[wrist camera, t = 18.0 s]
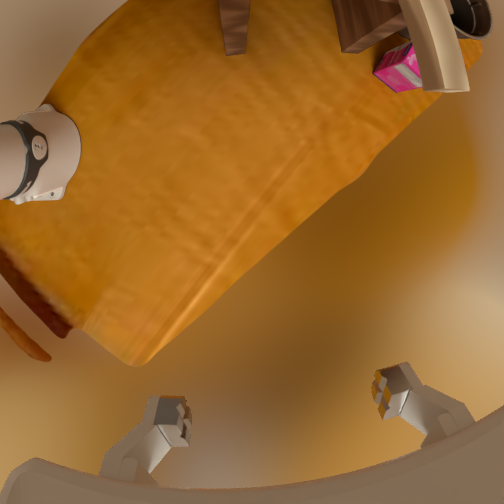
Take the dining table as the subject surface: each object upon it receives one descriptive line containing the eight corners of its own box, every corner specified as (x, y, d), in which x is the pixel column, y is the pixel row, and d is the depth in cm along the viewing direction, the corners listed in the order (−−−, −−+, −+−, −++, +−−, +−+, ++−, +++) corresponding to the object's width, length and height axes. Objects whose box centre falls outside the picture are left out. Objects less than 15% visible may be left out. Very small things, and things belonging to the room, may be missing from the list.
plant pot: (410, 67, 38) (466, 53, 23) (355, -1, 33) (394, -39, 18) (453, 38, 35) (504, 25, 20) (405, -23, 30) (446, -51, 15)
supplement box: (383, 51, 37) (417, 36, 27) (408, 72, 39) (445, 62, 28) (370, 73, 39) (403, 60, 29) (396, 93, 41) (433, 87, 30)
